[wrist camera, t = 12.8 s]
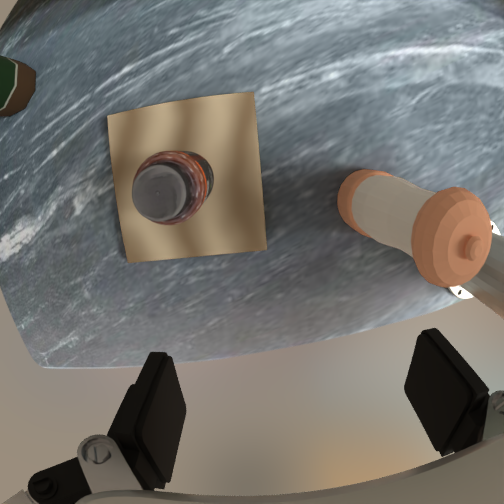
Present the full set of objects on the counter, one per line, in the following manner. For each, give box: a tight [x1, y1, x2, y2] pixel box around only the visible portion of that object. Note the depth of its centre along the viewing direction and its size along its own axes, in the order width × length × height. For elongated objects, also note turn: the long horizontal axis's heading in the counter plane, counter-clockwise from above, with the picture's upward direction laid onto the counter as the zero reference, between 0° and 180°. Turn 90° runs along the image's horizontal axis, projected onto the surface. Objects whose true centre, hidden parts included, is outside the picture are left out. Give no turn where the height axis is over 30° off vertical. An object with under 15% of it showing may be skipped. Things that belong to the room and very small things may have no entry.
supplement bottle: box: [132, 151, 214, 225], centre depth 25 cm, size 6×6×11 cm
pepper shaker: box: [337, 169, 492, 288], centre depth 23 cm, size 7×7×19 cm
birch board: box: [107, 92, 267, 263], centre depth 31 cm, size 16×17×1 cm
